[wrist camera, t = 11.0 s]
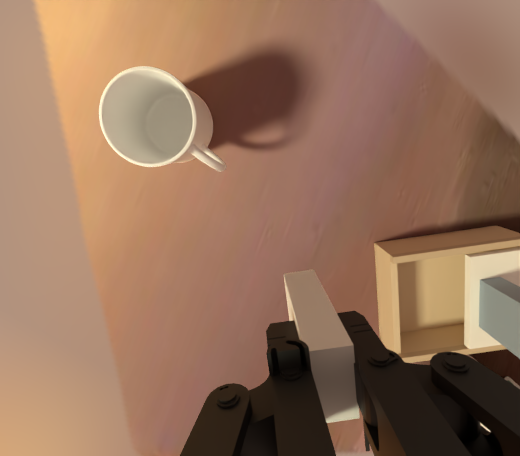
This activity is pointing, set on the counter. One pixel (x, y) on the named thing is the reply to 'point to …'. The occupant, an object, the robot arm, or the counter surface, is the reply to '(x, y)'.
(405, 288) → the box
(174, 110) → the mug
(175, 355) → the counter surface
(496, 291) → the lid
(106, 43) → the counter surface
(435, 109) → the counter surface
